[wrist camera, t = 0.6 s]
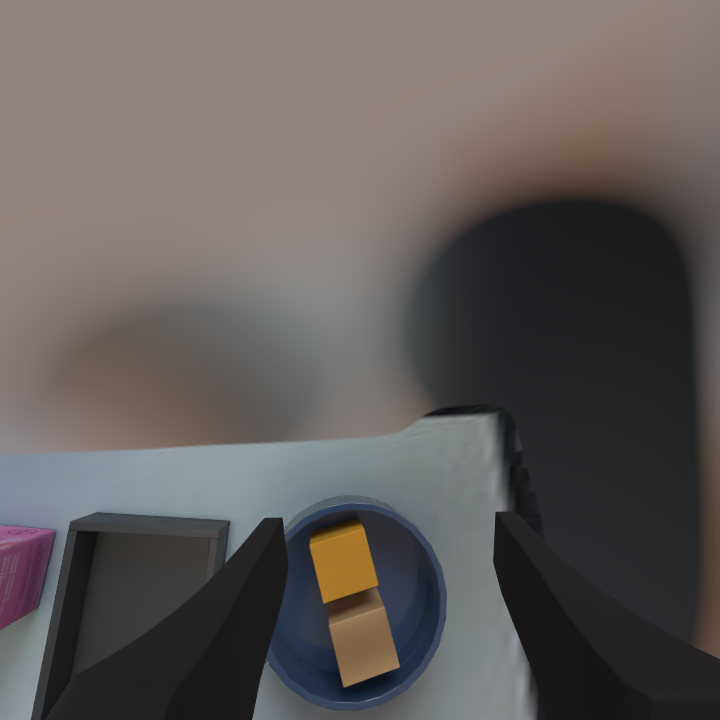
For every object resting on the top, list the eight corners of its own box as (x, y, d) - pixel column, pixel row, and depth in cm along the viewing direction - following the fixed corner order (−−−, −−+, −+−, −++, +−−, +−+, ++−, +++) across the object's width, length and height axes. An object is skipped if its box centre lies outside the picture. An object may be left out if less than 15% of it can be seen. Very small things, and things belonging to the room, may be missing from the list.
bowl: (427, 680, 33) (442, 713, 29) (253, 673, 31) (244, 707, 28) (435, 500, 35) (450, 509, 31) (274, 489, 34) (268, 496, 30)
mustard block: (371, 567, 33) (378, 585, 29) (322, 583, 33) (323, 604, 29) (358, 517, 34) (363, 527, 30) (310, 532, 33) (309, 545, 29)
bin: (205, 708, 31) (191, 743, 27) (60, 704, 30) (26, 739, 27) (229, 520, 33) (219, 530, 30) (96, 512, 32) (69, 521, 29)
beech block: (390, 639, 32) (400, 667, 28) (340, 657, 32) (343, 688, 28) (376, 586, 33) (384, 606, 29) (327, 602, 32) (328, 625, 28)
